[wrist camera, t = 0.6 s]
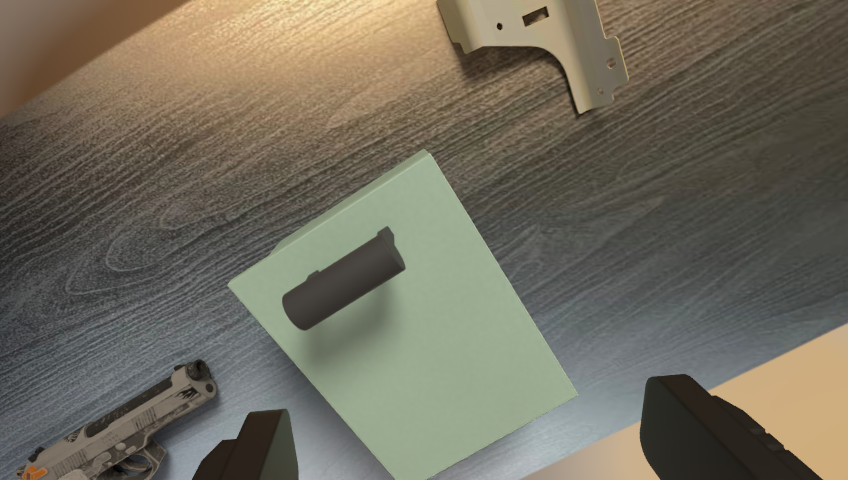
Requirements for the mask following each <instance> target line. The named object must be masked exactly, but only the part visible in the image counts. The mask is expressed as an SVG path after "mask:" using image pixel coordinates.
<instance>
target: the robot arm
mask: <svg viewBox="0 0 848 480" xmlns="http://www.w3.org/2000/svg"><path fill="white" fill-rule="evenodd" d="M640 442H641V446H642V449H643V452H644V455H645V457H646V459H647V461H648V463H649V464H650V466H651V467H652V469H653V470H654V471H655V473H656V474H657V475H658V477H659V478H660V480H823V479H821V478H820V477H819V476H818V475H817V474H816V473H815V472H813V471H812V470H811V469H810V468H809V467H808V466H807V465H805V464H804V463H803V462H802V461H801V460H799V459H798V458H797V457H796V456H795V455H794V454H793V453H791V452H790V451H789V450H785V449H784V446H783V445H782V444H781V443H780V442H779V441H778V440H777V439H775V438H774V437H773V436H772V435H771V434H769V433H768V434H767V433H766V432H765V429H764V428H763V427H762V426H760V425H759V424H758V423H757V422H756V421H754V420H753V419H752V418H751V417H750V416H749V415H748V414H747V413H745V412H744V411H743V410H741V409H739V408H738V407H736V406H734V405H732V404H730V403H729V402H727V401H725V400H723V399H721V398H720V397H718V396H711V395H710V394H709V393H708V392H707V391H706V390H705V389H704V388H703V387H701V386H700V385H699V384H698V383H697V382H696V381H695V380H694V379H693V378H691V377H690V376H688V375H686V374H679V375H668V376H657V377H650V378H649V379H648V380H647V383H646V387H645V395H644V403H643V411H642V419H641V427H640ZM192 480H298V462H297V457H296V451H295V445H294V439H293V433H292V428H291V422H290V416H289V413H288V411H287V409H278V410H266V411H255V412H250V413H249V414H248V415H247V417H246V419H245V421H244V424H243V426H242V428H241V430H240V432H239V435H238V437H237V439H231V440H222V441H221V442H220V443H219V444H218V445H217V446H216V447H215V448H214V449H213V450H212V451H211V452H210V453H209V454H208V455H207V456H206V457H205V458H204V459H203V460H202V461H201V463H200V465H199V467H198V469H197V471H196V473H195V475H194V477H193V478H192Z"/></svg>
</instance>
